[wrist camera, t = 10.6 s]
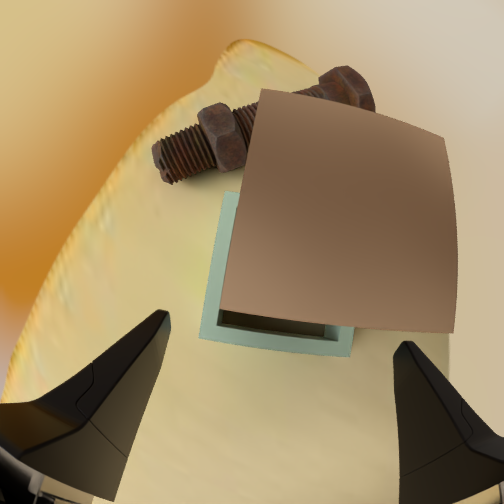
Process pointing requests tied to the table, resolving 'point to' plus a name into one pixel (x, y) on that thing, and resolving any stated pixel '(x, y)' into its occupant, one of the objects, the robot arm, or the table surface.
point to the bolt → (243, 128)
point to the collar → (213, 329)
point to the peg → (343, 220)
